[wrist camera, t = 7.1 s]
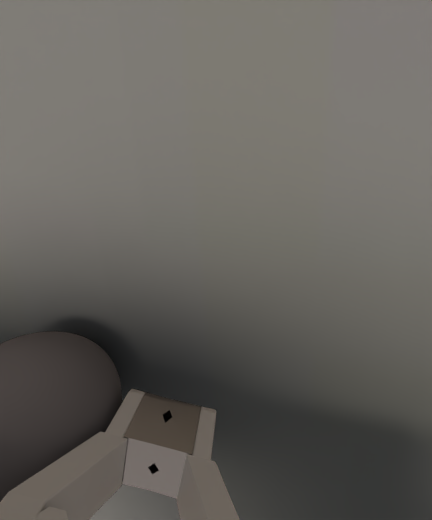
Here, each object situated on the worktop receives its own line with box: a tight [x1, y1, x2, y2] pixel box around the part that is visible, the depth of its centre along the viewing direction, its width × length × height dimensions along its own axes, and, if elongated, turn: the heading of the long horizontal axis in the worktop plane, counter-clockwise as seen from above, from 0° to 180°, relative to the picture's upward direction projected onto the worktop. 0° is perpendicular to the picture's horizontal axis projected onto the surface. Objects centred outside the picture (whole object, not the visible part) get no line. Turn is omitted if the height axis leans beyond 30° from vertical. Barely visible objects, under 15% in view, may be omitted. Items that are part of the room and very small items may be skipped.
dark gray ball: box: [0, 331, 122, 502], centre depth 8 cm, size 5×5×5 cm
